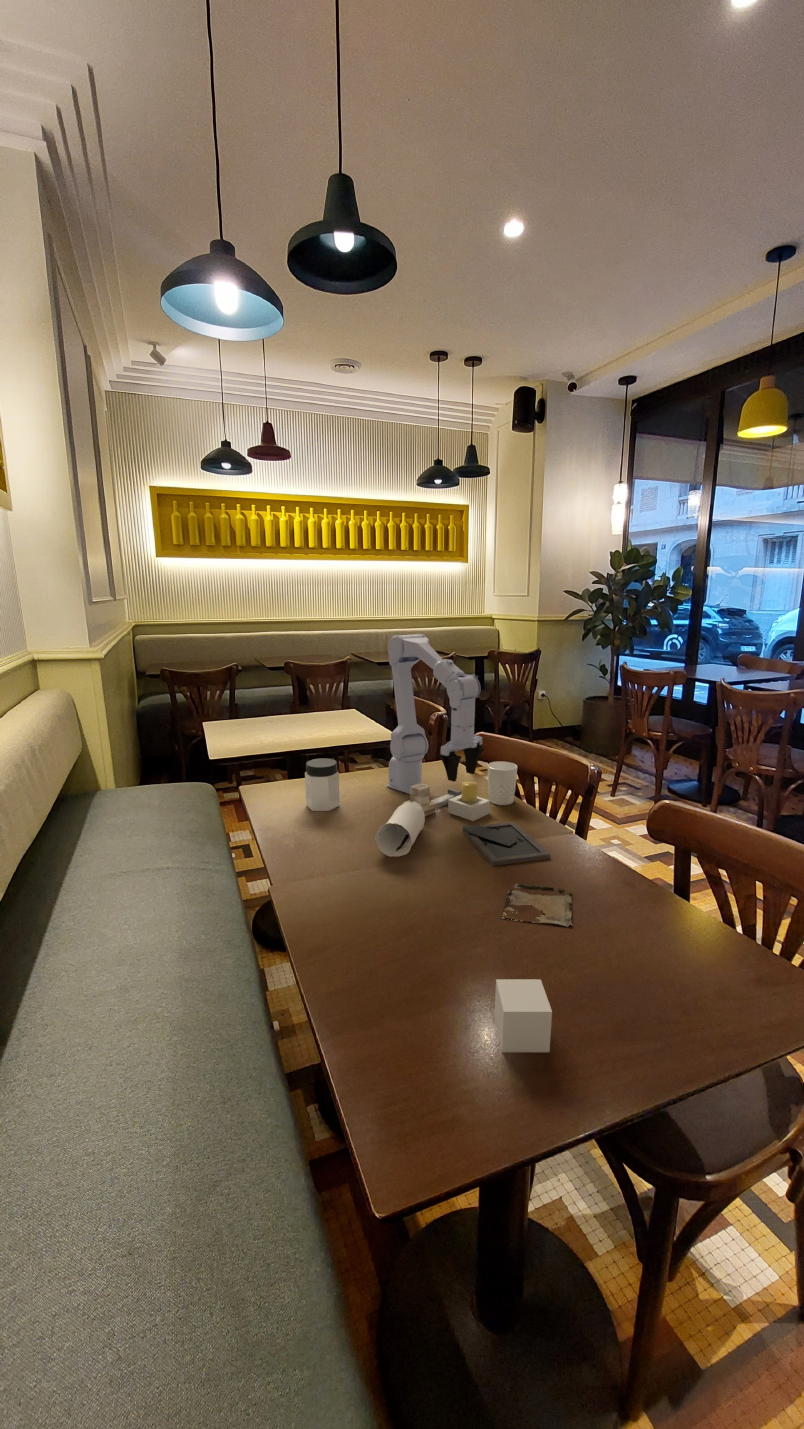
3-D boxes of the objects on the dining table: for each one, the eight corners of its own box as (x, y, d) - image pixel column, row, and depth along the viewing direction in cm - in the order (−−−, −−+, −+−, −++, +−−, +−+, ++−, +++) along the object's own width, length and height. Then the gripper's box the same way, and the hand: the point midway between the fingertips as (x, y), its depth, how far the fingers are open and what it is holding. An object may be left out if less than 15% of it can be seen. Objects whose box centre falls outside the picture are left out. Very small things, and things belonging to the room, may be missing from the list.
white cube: (501, 1053, 72) (503, 1011, 71) (494, 1018, 78) (495, 979, 77) (549, 1052, 72) (552, 1011, 71) (538, 1017, 78) (540, 979, 77)
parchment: (572, 893, 110) (572, 888, 110) (573, 931, 98) (573, 926, 98) (507, 884, 114) (507, 879, 113) (500, 920, 101) (500, 915, 101)
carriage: (402, 812, 148) (402, 786, 147) (418, 805, 152) (418, 781, 151) (420, 818, 144) (421, 792, 142) (436, 812, 148) (436, 786, 147)
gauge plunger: (458, 799, 148) (458, 784, 147) (467, 795, 150) (468, 780, 150) (470, 803, 145) (471, 788, 144) (480, 798, 148) (480, 784, 147)
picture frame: (462, 833, 138) (492, 868, 121) (462, 825, 137) (492, 859, 120) (513, 827, 141) (550, 860, 124) (514, 820, 140) (550, 852, 123)
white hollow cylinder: (431, 826, 141) (432, 795, 139) (410, 860, 123) (411, 825, 121) (400, 822, 143) (400, 792, 141) (375, 855, 125) (375, 821, 123)
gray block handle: (400, 816, 146) (400, 807, 145) (451, 796, 160) (451, 788, 159) (411, 820, 144) (411, 811, 143) (461, 799, 158) (461, 791, 157)
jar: (302, 803, 155) (300, 760, 153) (331, 797, 159) (329, 756, 156) (313, 814, 148) (312, 769, 145) (343, 808, 151) (342, 765, 149)
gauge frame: (448, 812, 149) (448, 799, 148) (464, 805, 154) (465, 792, 153) (473, 821, 143) (473, 807, 143) (489, 813, 148) (490, 800, 147)
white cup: (480, 798, 159) (482, 763, 157) (504, 794, 162) (506, 759, 160) (497, 808, 152) (498, 771, 150) (521, 803, 155) (523, 767, 153)
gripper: (457, 732, 135) (456, 787, 138) (492, 722, 145) (490, 773, 148) (434, 727, 140) (433, 780, 143) (470, 717, 150) (468, 767, 153)
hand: (461, 776), depth 146 cm, fingers open, 7 cm apart
